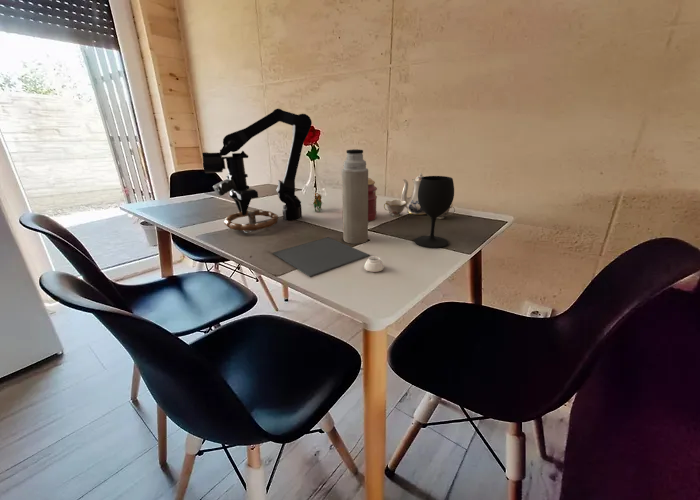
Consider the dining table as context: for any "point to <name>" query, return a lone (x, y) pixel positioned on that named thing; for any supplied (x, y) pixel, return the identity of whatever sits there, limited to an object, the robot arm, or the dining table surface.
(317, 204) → the figurine
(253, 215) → the metal peg stand
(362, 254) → the mat
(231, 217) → the ring
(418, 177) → the chinaware
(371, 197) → the kitchen canister
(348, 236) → the thermos bottle
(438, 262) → the dining table surface
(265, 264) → the dining table surface
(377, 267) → the white jar
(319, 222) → the dining table surface
